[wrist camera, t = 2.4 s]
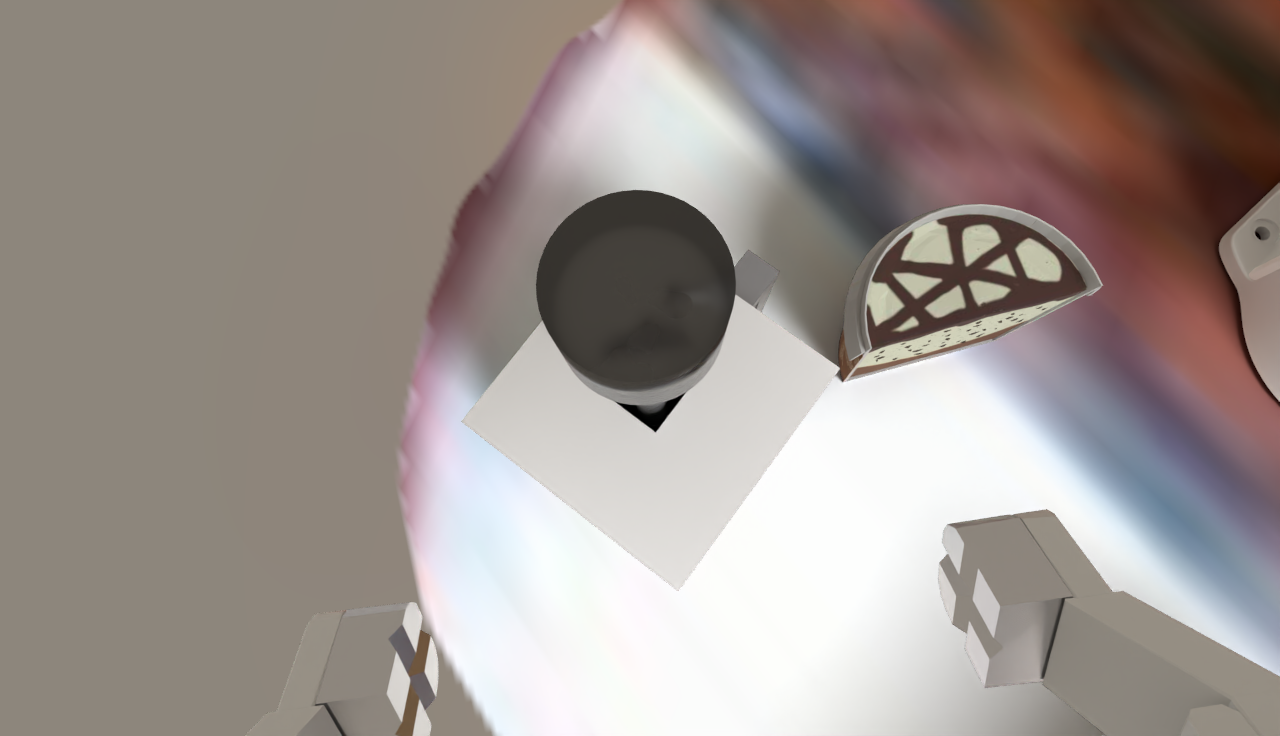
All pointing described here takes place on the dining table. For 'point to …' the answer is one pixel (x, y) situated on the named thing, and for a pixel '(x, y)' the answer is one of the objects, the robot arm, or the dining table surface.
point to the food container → (956, 285)
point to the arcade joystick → (660, 433)
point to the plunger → (637, 297)
